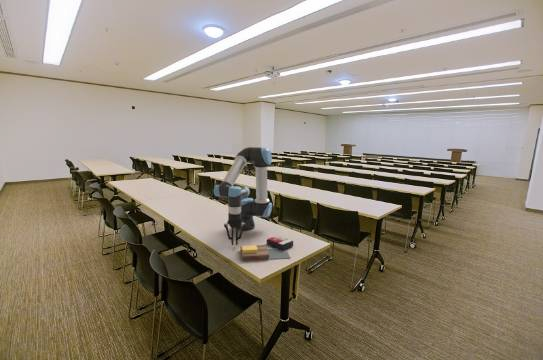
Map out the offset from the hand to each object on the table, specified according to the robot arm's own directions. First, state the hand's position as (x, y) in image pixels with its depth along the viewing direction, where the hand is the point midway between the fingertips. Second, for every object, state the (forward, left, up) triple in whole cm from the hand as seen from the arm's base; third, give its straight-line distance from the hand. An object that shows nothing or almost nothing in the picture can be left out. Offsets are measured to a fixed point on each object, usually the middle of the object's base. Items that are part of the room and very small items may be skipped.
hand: (234, 249), depth 156 cm
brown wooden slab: (0, +12, -4) cm, 13 cm away
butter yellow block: (0, +9, -1) cm, 9 cm away
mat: (0, +27, -4) cm, 28 cm away
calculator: (-12, +31, -4) cm, 34 cm away
